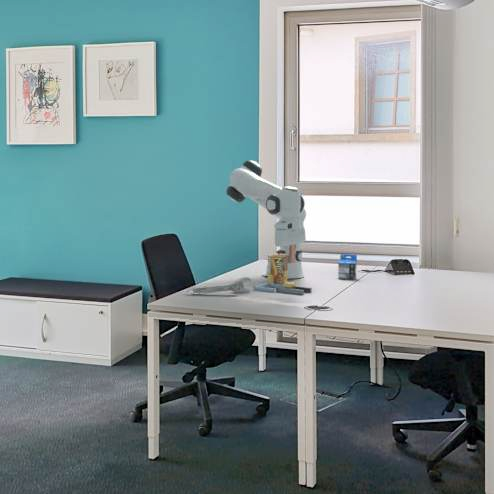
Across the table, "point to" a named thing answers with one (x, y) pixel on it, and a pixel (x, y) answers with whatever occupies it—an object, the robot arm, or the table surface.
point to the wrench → (225, 287)
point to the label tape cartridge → (347, 266)
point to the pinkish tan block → (291, 254)
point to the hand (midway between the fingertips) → (290, 254)
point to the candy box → (277, 269)
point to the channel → (294, 290)
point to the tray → (263, 286)
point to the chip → (290, 285)
